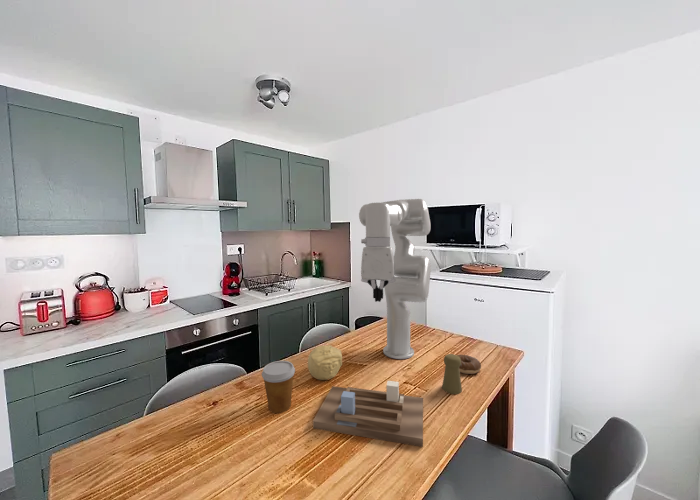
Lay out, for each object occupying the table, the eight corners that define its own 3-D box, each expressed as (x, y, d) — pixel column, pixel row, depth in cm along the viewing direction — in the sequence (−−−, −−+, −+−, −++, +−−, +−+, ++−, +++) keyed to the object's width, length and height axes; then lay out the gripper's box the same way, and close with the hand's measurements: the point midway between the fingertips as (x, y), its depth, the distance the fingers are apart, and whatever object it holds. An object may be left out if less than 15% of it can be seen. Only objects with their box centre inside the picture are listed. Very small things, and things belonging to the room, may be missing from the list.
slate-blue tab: (343, 410, 80) (343, 391, 80) (355, 411, 79) (354, 392, 79) (341, 416, 78) (340, 396, 77) (352, 417, 77) (352, 398, 76)
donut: (449, 373, 104) (449, 362, 104) (450, 360, 114) (450, 350, 113) (482, 378, 100) (482, 367, 100) (480, 364, 110) (480, 354, 110)
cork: (463, 395, 90) (464, 360, 90) (443, 393, 92) (443, 359, 91) (460, 384, 96) (460, 352, 95) (441, 382, 98) (441, 351, 97)
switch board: (332, 392, 93) (332, 382, 93) (423, 404, 86) (423, 393, 86) (313, 428, 77) (312, 416, 76) (422, 446, 70) (422, 433, 69)
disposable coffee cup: (301, 400, 89) (300, 362, 88) (285, 420, 80) (283, 378, 79) (275, 394, 92) (273, 358, 91) (256, 413, 83) (254, 372, 82)
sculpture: (315, 387, 96) (314, 356, 95) (303, 371, 106) (302, 343, 105) (346, 379, 101) (346, 348, 100) (332, 364, 112) (331, 337, 111)
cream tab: (387, 398, 85) (387, 380, 85) (398, 400, 84) (398, 381, 84) (386, 403, 83) (386, 385, 82) (397, 405, 82) (397, 386, 81)
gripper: (351, 243, 89) (352, 302, 91) (401, 243, 85) (401, 305, 87) (357, 242, 96) (357, 296, 98) (403, 242, 93) (403, 298, 94)
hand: (378, 300), depth 92 cm, fingers closed
